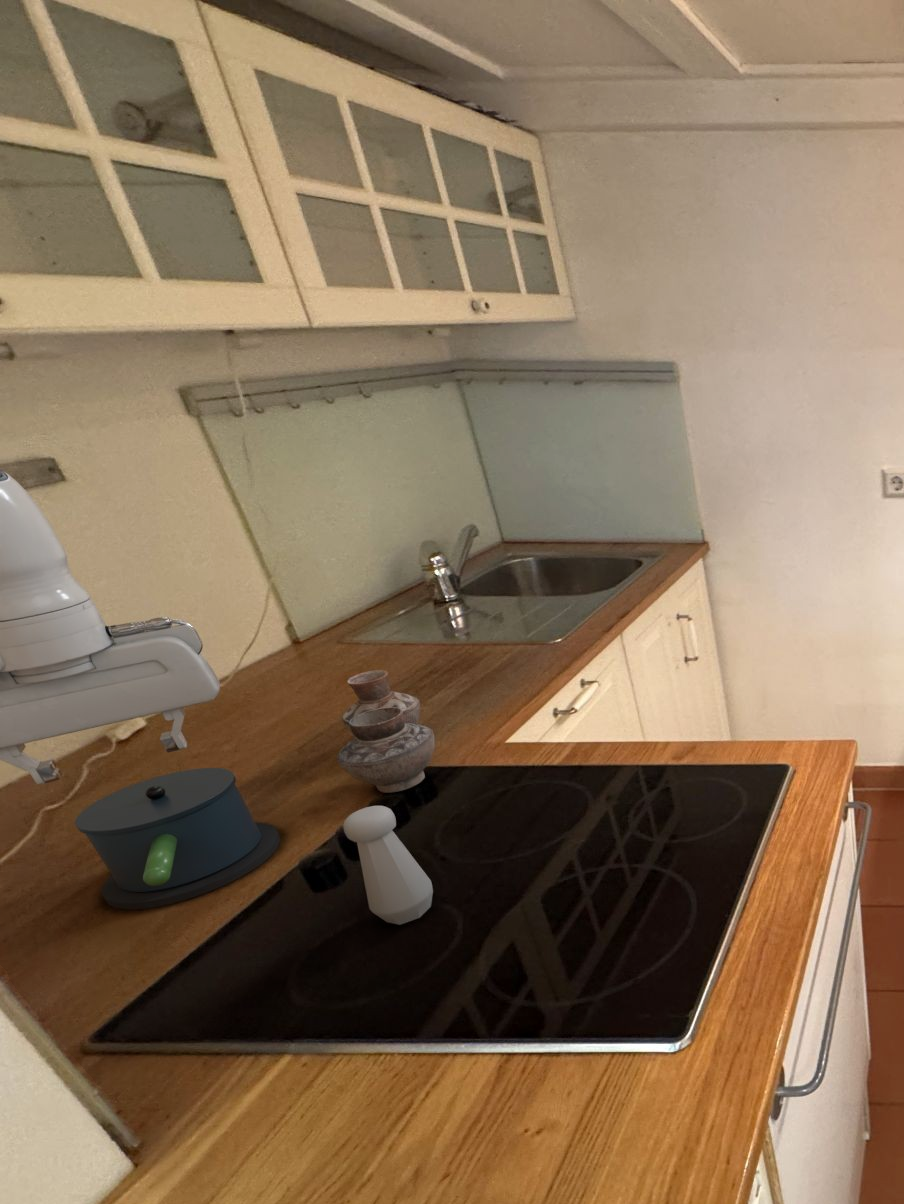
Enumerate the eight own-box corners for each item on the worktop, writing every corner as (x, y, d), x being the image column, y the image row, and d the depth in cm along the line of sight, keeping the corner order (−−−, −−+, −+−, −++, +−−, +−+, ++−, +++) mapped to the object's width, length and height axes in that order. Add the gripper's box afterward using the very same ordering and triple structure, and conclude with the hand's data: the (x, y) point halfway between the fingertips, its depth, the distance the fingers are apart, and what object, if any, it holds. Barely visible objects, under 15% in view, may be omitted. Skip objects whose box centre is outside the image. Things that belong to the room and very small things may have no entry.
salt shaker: (441, 915, 84) (399, 816, 78) (378, 938, 81) (330, 836, 75) (437, 888, 88) (397, 792, 82) (377, 908, 85) (331, 810, 79)
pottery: (432, 724, 127) (407, 657, 122) (452, 785, 109) (424, 709, 104) (349, 746, 121) (319, 677, 116) (356, 814, 103) (320, 735, 98)
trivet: (94, 930, 83) (89, 923, 83) (115, 862, 95) (111, 855, 94) (281, 869, 92) (277, 862, 92) (280, 813, 104) (277, 807, 103)
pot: (122, 854, 94) (79, 784, 90) (264, 812, 102) (231, 746, 97) (92, 953, 78) (38, 875, 74) (263, 895, 86) (222, 821, 81)
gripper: (189, 605, 81) (247, 722, 87) (-112, 657, 69) (-21, 787, 75) (184, 619, 76) (246, 741, 82) (-138, 677, 65) (-40, 814, 71)
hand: (116, 764), depth 79 cm, fingers open, 8 cm apart
